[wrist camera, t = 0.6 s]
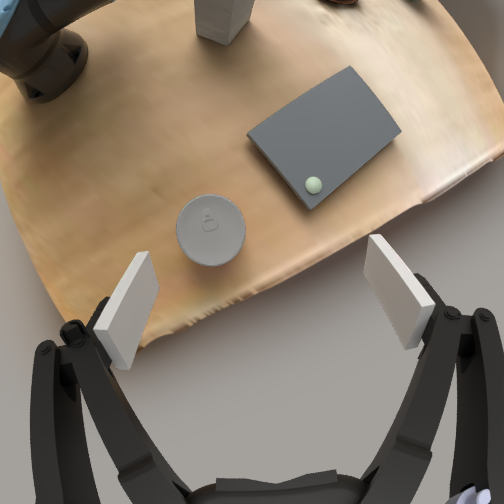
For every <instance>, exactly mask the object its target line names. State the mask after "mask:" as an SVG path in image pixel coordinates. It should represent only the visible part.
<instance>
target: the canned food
mask: <svg viewBox="0 0 504 504" xmlns="http://www.w3.org/2000/svg"><path fill="white" fill-rule="evenodd" d="M176 234H177V240H178V242H179V245H180V247H181V249H182V250H183V252H184V253H185V254H186V255H187V257H188V258H190V259H191V260H192V261H194V262H196V263H198V264H200V265H204V266H220V265H223V264H225V263H227V262H229V261H230V260H232V259H233V258H234V257H235V256H236V255H237V254H238V253H239V251H240V250H241V248H242V246H243V243H244V240H245V235H246V227H245V221H244V218H243V216H242V213H241V212H240V210H239V208H238V207H237V206H236V205H235V204H234V203H233V202H232V201H230V200H229V199H228V198H225V197H223V196H221V195H217V194H204V195H200V196H198V197H195V198H193V199H192V200H190V201H189V202H188V203H187V204H186V205H185V206H184V207H183V209H182V210H181V212H180V214H179V217H178V219H177V225H176Z"/></svg>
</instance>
